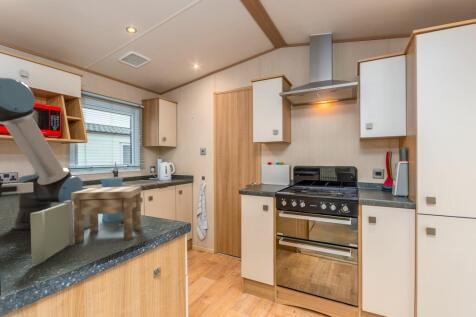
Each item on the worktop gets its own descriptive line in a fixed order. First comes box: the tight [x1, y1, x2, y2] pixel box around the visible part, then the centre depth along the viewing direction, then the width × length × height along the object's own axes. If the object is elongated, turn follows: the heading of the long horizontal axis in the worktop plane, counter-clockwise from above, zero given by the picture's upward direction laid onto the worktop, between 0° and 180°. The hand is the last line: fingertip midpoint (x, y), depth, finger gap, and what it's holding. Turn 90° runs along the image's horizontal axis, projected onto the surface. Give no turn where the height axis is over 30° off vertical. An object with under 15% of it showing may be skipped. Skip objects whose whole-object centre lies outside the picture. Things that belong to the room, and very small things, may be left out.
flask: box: [84, 214, 90, 230], centre depth 102 cm, size 7×7×10 cm
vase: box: [99, 177, 124, 223], centre depth 114 cm, size 8×8×20 cm
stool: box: [71, 185, 143, 244], centre depth 91 cm, size 20×14×18 cm
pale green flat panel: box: [30, 200, 74, 265], centre depth 73 cm, size 17×3×15 cm, turn 7°
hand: (32, 187), depth 69 cm, fingers closed
